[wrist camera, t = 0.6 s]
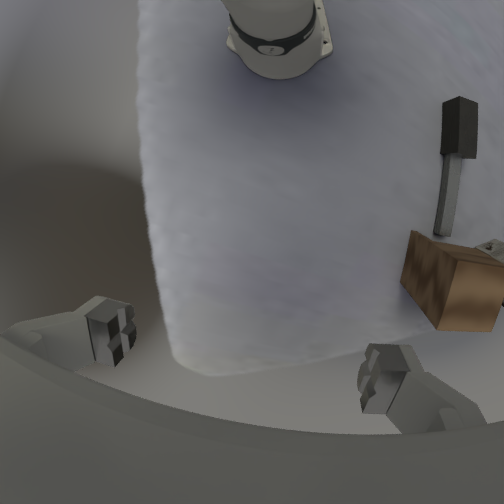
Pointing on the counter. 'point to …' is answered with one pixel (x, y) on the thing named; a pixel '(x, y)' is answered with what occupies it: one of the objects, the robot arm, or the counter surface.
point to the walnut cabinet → (453, 284)
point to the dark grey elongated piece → (455, 155)
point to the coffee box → (493, 251)
